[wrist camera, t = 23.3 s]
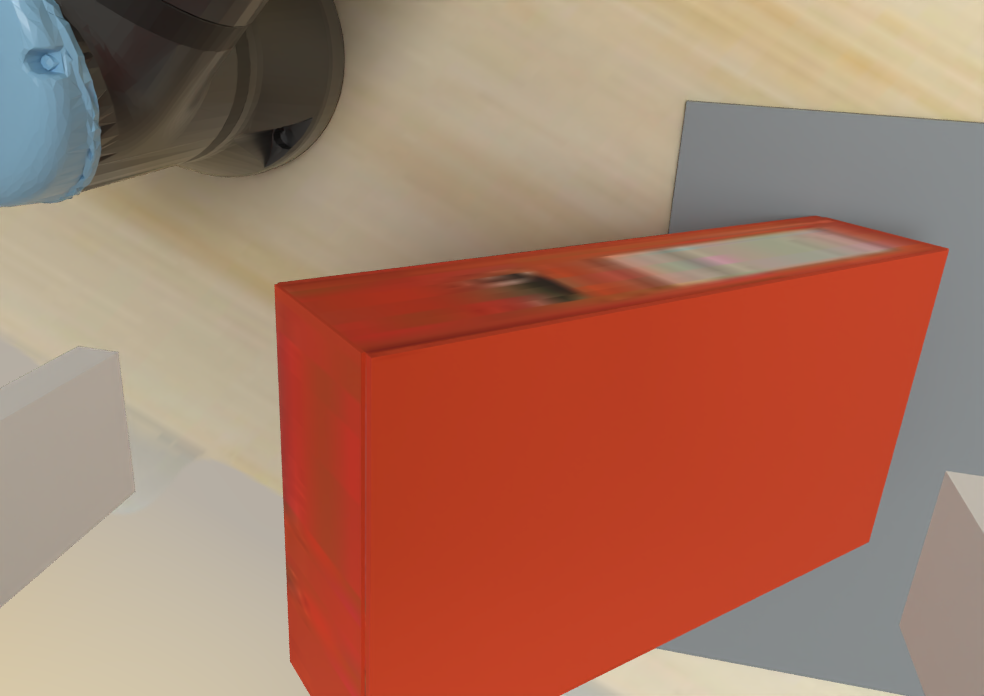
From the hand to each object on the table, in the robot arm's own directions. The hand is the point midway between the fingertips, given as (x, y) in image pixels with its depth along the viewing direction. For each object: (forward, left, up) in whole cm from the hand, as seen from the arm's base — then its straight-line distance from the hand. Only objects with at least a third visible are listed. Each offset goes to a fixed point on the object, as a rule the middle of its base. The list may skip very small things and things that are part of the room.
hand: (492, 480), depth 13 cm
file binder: (+14, -11, -35) cm, 40 cm away
